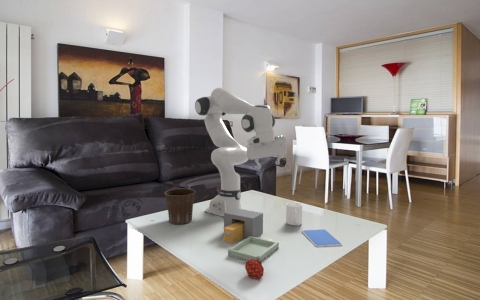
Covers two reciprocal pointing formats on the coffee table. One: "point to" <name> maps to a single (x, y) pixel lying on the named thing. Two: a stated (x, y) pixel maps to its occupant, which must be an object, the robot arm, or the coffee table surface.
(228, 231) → the orange rectangular block
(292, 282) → the coffee table surface
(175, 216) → the plant pot
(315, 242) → the tablet computer
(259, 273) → the red bumpy oval lump
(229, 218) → the block
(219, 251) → the coffee table surface
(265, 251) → the tray
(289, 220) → the mug
